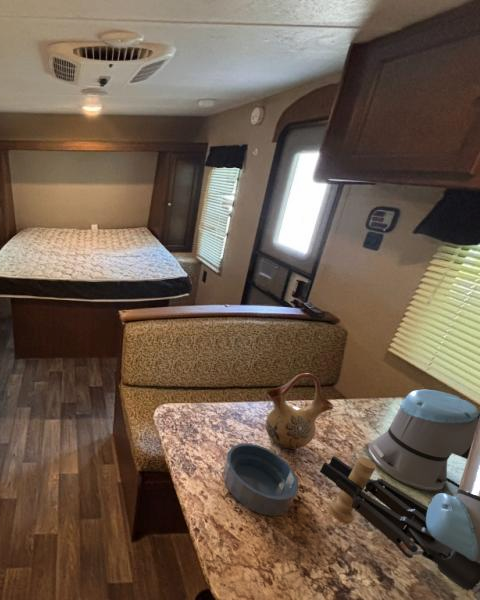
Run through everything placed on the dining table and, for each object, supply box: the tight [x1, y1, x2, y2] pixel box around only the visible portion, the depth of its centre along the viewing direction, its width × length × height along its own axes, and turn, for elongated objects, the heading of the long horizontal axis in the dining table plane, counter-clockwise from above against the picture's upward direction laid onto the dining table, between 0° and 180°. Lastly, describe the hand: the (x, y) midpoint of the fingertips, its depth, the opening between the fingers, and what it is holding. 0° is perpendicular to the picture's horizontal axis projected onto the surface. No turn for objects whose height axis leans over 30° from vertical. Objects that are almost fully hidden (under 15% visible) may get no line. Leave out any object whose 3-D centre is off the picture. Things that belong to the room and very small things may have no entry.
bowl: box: [222, 442, 300, 517], centre depth 79 cm, size 16×16×6 cm
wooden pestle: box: [327, 456, 377, 524], centre depth 67 cm, size 4×4×16 cm
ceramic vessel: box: [265, 372, 335, 450], centre depth 89 cm, size 16×9×25 cm, turn 74°
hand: (327, 463), depth 71 cm, fingers closed on wooden pestle, 3 cm apart
